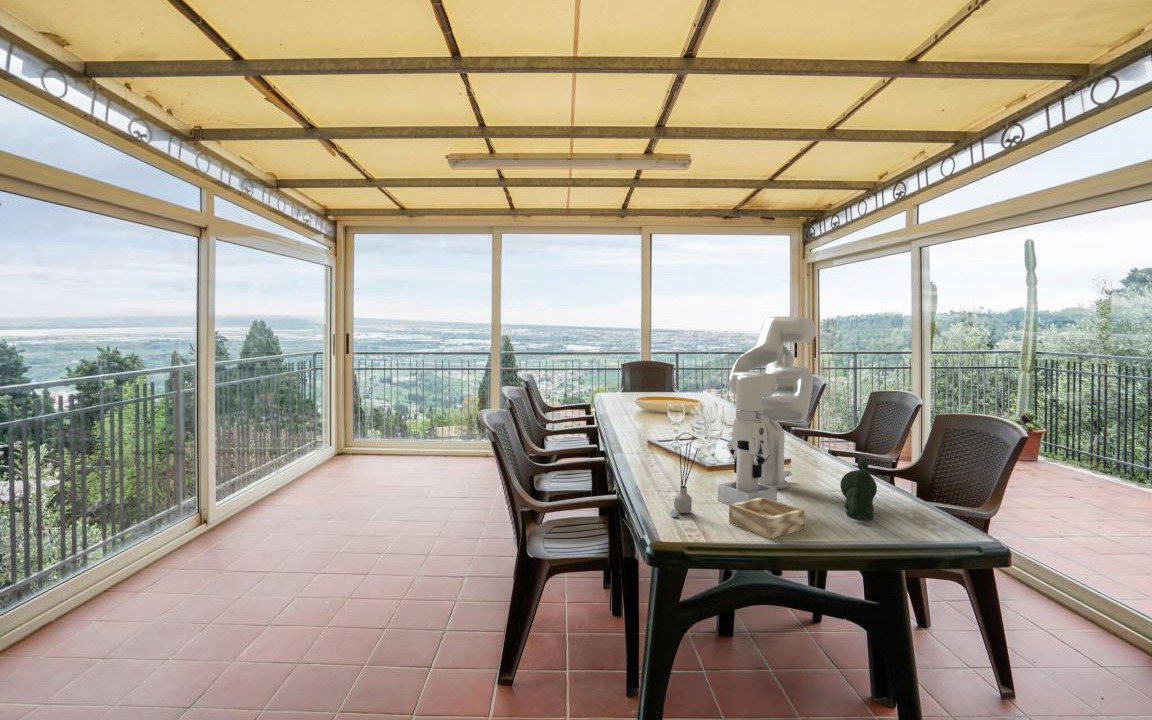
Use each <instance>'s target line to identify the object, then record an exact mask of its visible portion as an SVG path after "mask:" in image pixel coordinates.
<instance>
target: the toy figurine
mask: <svg viewBox="0 0 1152 720" xmlns="http://www.w3.org/2000/svg"><path fill="white" fill-rule="evenodd" d="M857 468H858V469H859V470H851V471H849V472H847V473H846V474H844V476H842V478H841V480H840V490H841V492H842V494H843V496H844V497H845V501H846V502H845V503H844V509H845V510H846V512H845V514H846V516H847V517H850V519H851V518H852V519H854V520H855V519H857V517H859V518H865V520H867V521H873V519H874V517H875V516H874V513H873V512H874V510H875V508H874V503H873V502H874V498H875V497H876V494H877V491H878V486H877V483H876V481H875V479H874V478H873V477H872V475H871V473H870V472H869V470H868V468H869V462H868V460H867V458H865V457H859V458H858V459H857Z"/></svg>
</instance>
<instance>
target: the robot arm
mask: <svg viewBox="0 0 1152 720" xmlns="http://www.w3.org/2000/svg"><path fill="white" fill-rule="evenodd" d="M762 322H763V323H762V324H761V327H760V330H759V333H758V337H757V339H756V342H755V346H754V347H752V348H751V349H749V350H747V351H746V352H744V353H743V354H742V355H740V356H739V357H738V358H737V359H736V360H735V361H734V363H733V365H732V367H731V368H732V369H731V371H730V373H729V378H728V381H727V382H728V383H727V384H728V389H729V391H730V393H732V394H733V395H735V396H736V397H735V401H736V402H735V418H734V421H733V425H732V432H731V440H730V441H729V442H728V443H727V444H726V447H727V449H728V450H729V452H730V454H731V456H732V459H733V461H734V463H733V464H734V466H733V471H734V473H735V474H737V450H738V449H737V445H738V441H739V440H740V441H749V450H750V454H751V455H753V460H754V464H755V465H753V476H752V477H753V478H758V483H760V484H763V485H767V486H770V487H773V488H777V490H781V489H787V488H788V487H789V481H788V480H786V478H787V477H790V476H792V475H793V474H792V471H791V470H789V469H788V470H785V442H786V441H785V438H786V437H785V436H786V435H785V431H784V429H783V427H782V426H781V425H780V423H779V421H780V422H781V421H783V422H791V423H792V422H793V423H802V422H804V421H805V420H806V419H807V417H808V414H809V410H810V409H809V408H810V403H811V400H812V399H811V398H812V393H813V387H814V377H813V371H811V369H809V368H808V367H807V366H801V365H799V366H798V365H797V366H795V365H794V362H795V357H794V355H793V353H792V352H791V350H790V349H789V348H788V347H787V346H786V345H785V343H790V344H791V343H795V344H797V343H798V344H799V343H802V344H803V343H804V344H809V343H812V341H813V340H814V339H815V336H816V329H817V327H816V324H815V321H814V320H813V319H811V318H808V317H804V316H772V317H771V316H770V317H768V318H766V319H765V320H764V321H762ZM764 366H765V369H764V370H765V371H764V372H762V371H761V372H757V371H751V370H754V369H757V368H759V367H764ZM757 456H758V459H757Z"/></svg>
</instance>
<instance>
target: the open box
mask: <svg viewBox="0 0 1152 720" xmlns="http://www.w3.org/2000/svg"><path fill="white" fill-rule="evenodd" d="M777 495H778V489H777V488H773V487H770V486H767V485H763V484H760V483H758V491H757V492H753V493H746V492H743V491H740V490H737V489H736V480H734V481H730V482H724V483H718V484H717V501H718V502H720V501H721V502H720V503H723V502H724V503H723V504H726V503H727V504H726V505H728V504H729V505H730V504H734V503H738V502H743V501H747V500H751V499H756V498H760V497H765V498H768V499H771V500H774V501H777V499H778V496H777ZM777 502H778V501H777Z"/></svg>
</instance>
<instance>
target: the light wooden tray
mask: <svg viewBox="0 0 1152 720" xmlns="http://www.w3.org/2000/svg"><path fill="white" fill-rule="evenodd" d="M729 522H730V523H729ZM728 523H729V524H731V523H732V524H731V525H733V524H735V525H734V526H736V525H737V527H738V526H739V528H741V527H742V528H741V529H743V528H744V530H746V529H747V531H748V530H749V531H748V532H751V531H752V532H751V533H753V532H754V534H756V533H757V534H756V535H758V534H759V536H761V535H762V536H761V537H763V536H764V537H763V538H766V537H767V538H766V539H768V538H769V540H771V539H770V538H772V539H774V538H773V537H775V538H778V537H777V536H779V537H782V536H785V535H784V534H786V535H788V533H789V534H792V533H795V531H796V532H799V531H802V529H803V530H804V529H805V510H804V509H801V508H799V507H796V506H793V505H788V504H786V503H784V502H779V501H774V500H771V499H768V498H765V497H760V498H756V499H751V500H747V501H743V502H738V503H734V504H730V505H729V506H728ZM781 535H782V536H781Z"/></svg>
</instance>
